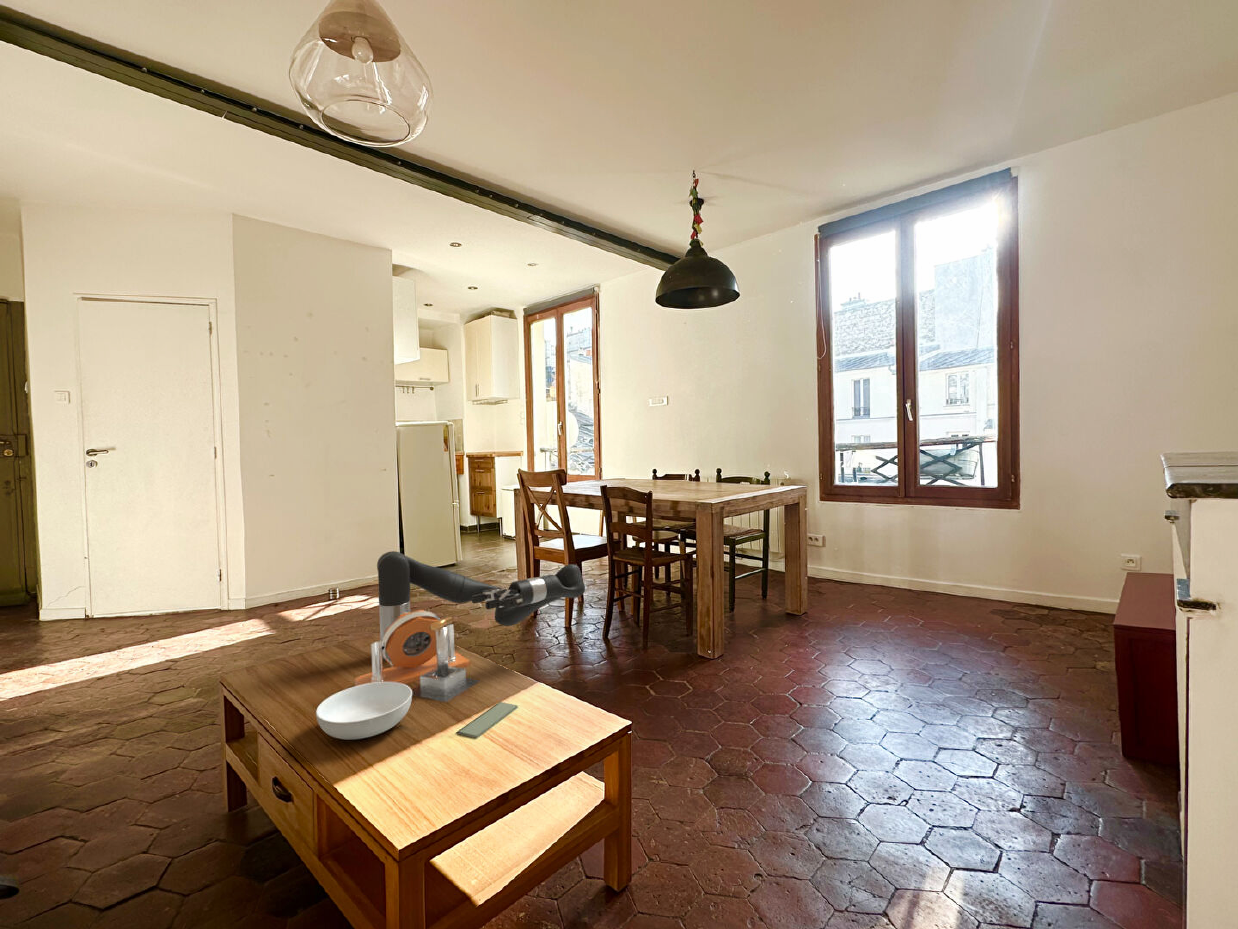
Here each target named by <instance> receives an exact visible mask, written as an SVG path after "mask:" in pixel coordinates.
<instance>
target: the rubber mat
mask: <svg viewBox="0 0 1238 929" xmlns="http://www.w3.org/2000/svg"><path fill="white" fill-rule="evenodd" d="M518 708H519V707H518V705H517V704H512V703H508V702H503V701H499V702H497V703H496V704H494V705H493V706H492V707H490V708H489V709H488V710H486V711H484V712H483V713H481V714H480V715H479V716H477V717H476V718H475V719H473V720H471V721H470V722H469V723H467V724H466V725H464V726H463V727H461V728H460V729H459V730H458V731H456V732H455V734H458V735H461V736H467V737H470V738H474V739H478V738H479V737H480V736H482V735H483V734H485V733H486V732H487V731H489V730H490V729H491V728H493V727H494V726H495V725H497V724H498V723H499V722H501V721H502V720H503V719H504V718H506V717H507V716H509V715H510V714H511V713H512V712H514V711H516V710H517V709H518Z"/></svg>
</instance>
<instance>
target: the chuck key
mask: <svg viewBox="0 0 1238 929" xmlns="http://www.w3.org/2000/svg"><path fill="white" fill-rule="evenodd" d="M453 620H454V619H453V618H452V616H447V617H444V618H441V620H438V621H437V622H434V623H432V624H430V625H429V629H430V631H436V656H437V675H436V677H441V678H445V677H447V676H448V675H450V673H449V665H448V641H447V626H448V625H451V624H452V623H453Z"/></svg>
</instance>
